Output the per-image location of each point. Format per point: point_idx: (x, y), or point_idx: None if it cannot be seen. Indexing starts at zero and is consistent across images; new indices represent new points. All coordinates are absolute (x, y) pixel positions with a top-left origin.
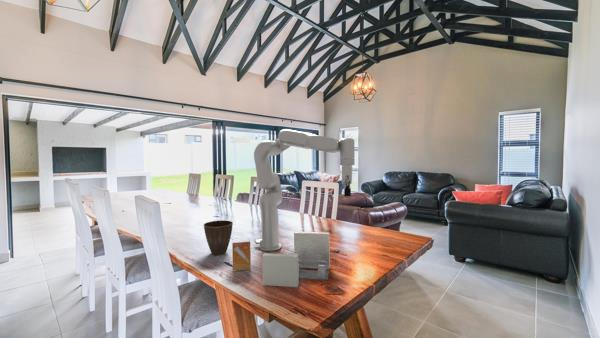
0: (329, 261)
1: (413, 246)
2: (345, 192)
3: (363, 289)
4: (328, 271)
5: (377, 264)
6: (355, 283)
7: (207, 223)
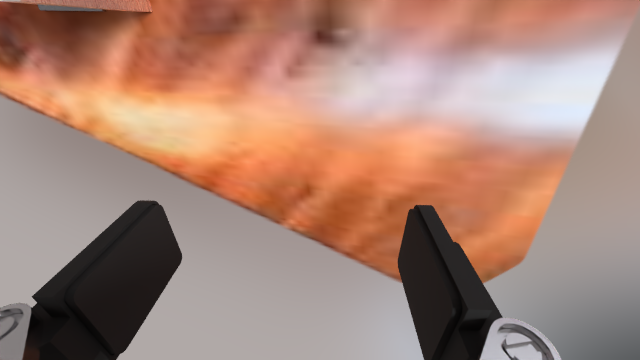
0: (125, 10)
1: (385, 260)
2: (108, 249)
3: (59, 118)
4: (100, 9)
5: (231, 165)
6: (79, 100)
7: None
